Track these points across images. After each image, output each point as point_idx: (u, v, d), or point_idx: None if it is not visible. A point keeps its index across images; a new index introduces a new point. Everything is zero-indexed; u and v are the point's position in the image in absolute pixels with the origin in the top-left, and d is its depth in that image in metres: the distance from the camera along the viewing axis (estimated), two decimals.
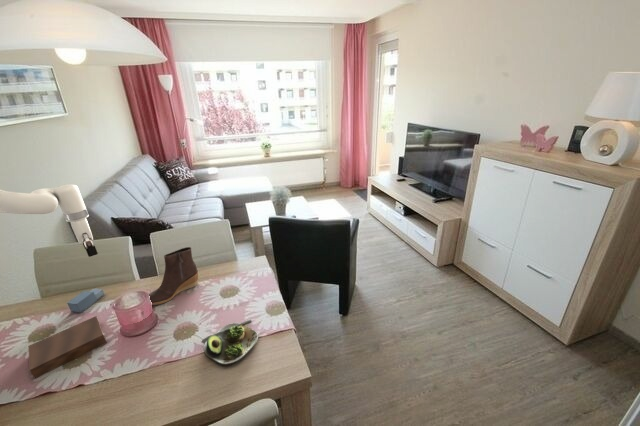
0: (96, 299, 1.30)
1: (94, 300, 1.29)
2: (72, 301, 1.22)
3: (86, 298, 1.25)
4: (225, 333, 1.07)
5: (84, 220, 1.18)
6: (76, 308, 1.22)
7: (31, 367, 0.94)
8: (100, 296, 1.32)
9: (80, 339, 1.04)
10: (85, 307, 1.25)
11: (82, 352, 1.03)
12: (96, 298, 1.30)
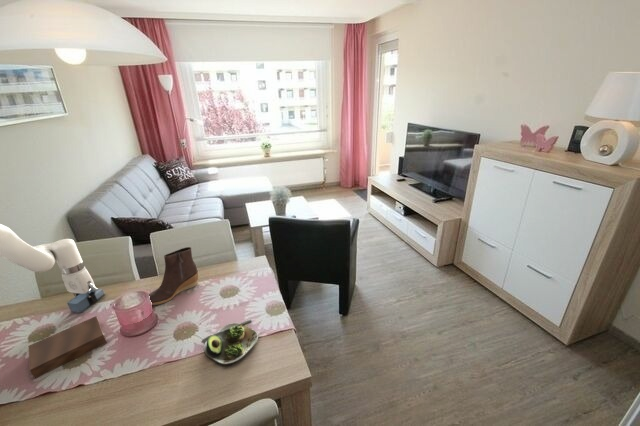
0: None
1: None
2: (72, 301, 1.22)
3: (86, 298, 1.25)
4: (225, 333, 1.07)
5: None
6: (76, 308, 1.22)
7: (31, 367, 0.94)
8: (100, 296, 1.32)
9: (80, 339, 1.04)
10: (85, 307, 1.25)
11: (82, 352, 1.03)
12: None
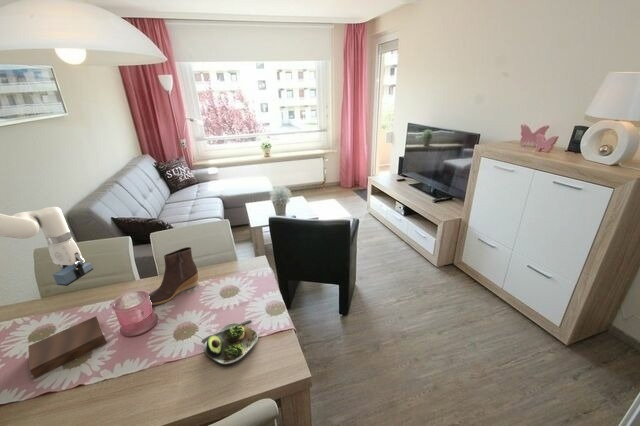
0: None
1: None
2: (58, 273, 1.17)
3: (73, 271, 1.20)
4: (225, 333, 1.07)
5: (73, 240, 1.17)
6: (62, 280, 1.17)
7: (31, 367, 0.94)
8: (88, 270, 1.26)
9: (80, 339, 1.04)
10: (72, 280, 1.19)
11: (82, 352, 1.03)
12: None
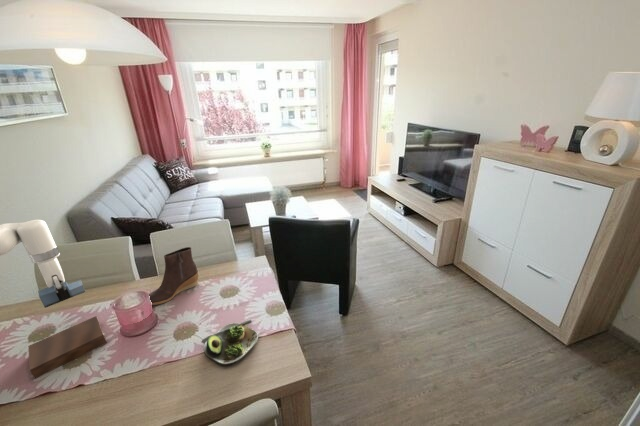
0: (71, 295, 1.09)
1: None
2: (41, 291, 1.05)
3: (55, 292, 1.06)
4: (225, 333, 1.07)
5: (53, 260, 1.02)
6: None
7: (31, 367, 0.94)
8: (78, 292, 1.11)
9: (80, 339, 1.04)
10: (52, 302, 1.06)
11: (82, 352, 1.03)
12: (71, 294, 1.09)
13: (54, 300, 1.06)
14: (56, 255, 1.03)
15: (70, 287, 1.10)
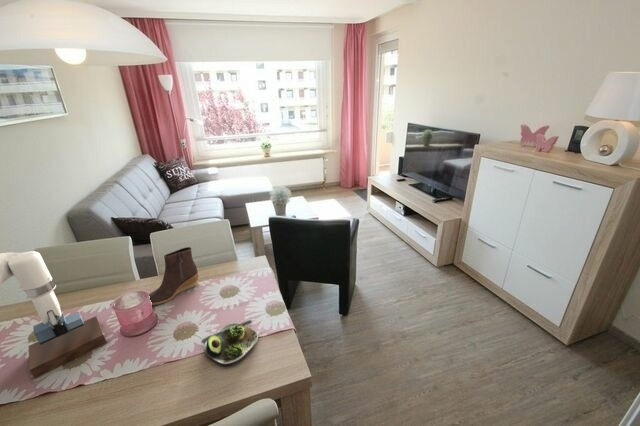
0: (68, 329, 1.02)
1: None
2: (37, 327, 0.98)
3: (51, 327, 0.98)
4: (225, 333, 1.07)
5: (49, 295, 0.94)
6: (37, 337, 0.97)
7: (31, 367, 0.94)
8: (76, 326, 1.03)
9: (80, 339, 1.04)
10: (48, 338, 0.98)
11: (82, 352, 1.03)
12: (69, 328, 1.02)
13: (50, 336, 0.99)
14: (52, 289, 0.96)
15: (68, 321, 1.02)
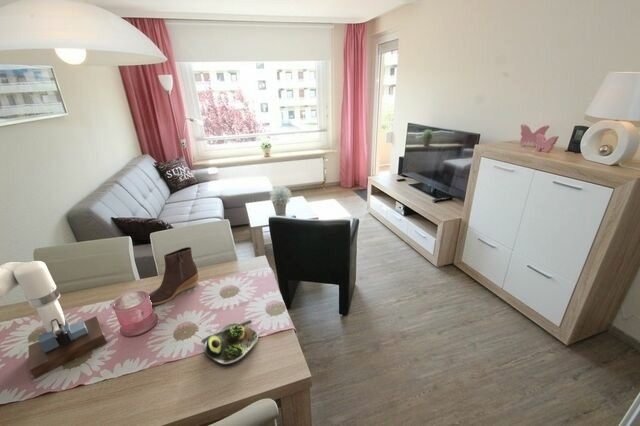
0: (73, 339, 1.03)
1: None
2: (42, 336, 1.00)
3: None
4: (225, 333, 1.07)
5: (53, 304, 0.96)
6: (42, 347, 0.98)
7: (31, 367, 0.94)
8: (80, 335, 1.05)
9: (80, 339, 1.04)
10: (53, 347, 1.00)
11: (82, 352, 1.03)
12: (73, 337, 1.03)
13: (55, 345, 1.00)
14: (56, 298, 0.97)
15: (72, 330, 1.04)
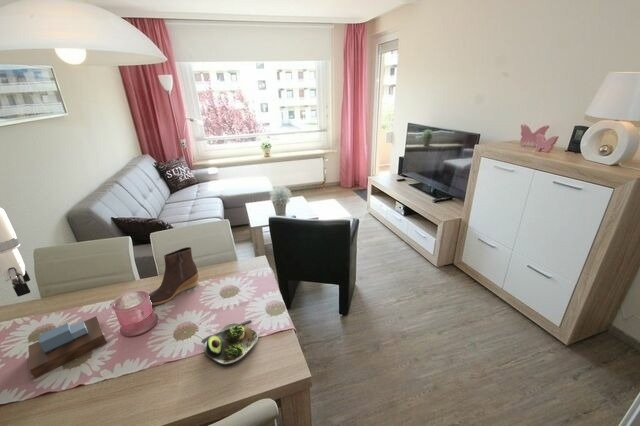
0: (73, 339, 1.03)
1: (69, 340, 1.03)
2: (42, 336, 1.00)
3: (56, 337, 1.00)
4: (225, 333, 1.07)
5: (11, 252, 0.94)
6: (42, 347, 0.98)
7: (31, 367, 0.94)
8: (80, 335, 1.05)
9: (80, 339, 1.04)
10: (53, 347, 1.00)
11: (82, 352, 1.03)
12: (73, 337, 1.03)
13: (55, 345, 1.00)
14: (15, 246, 0.95)
15: (72, 330, 1.04)
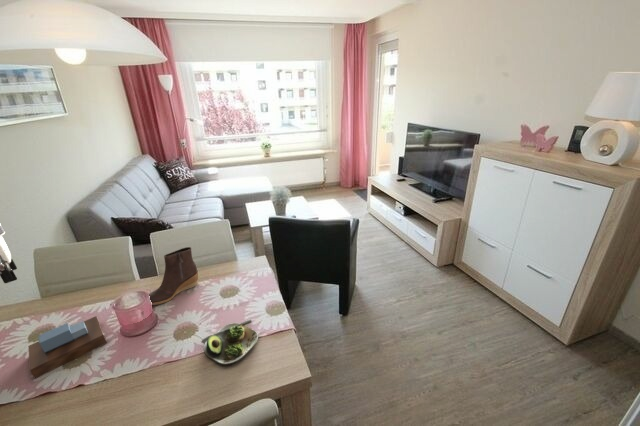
0: (73, 339, 1.03)
1: (69, 340, 1.03)
2: (42, 336, 1.00)
3: (56, 337, 1.00)
4: (225, 333, 1.07)
5: None
6: (42, 347, 0.98)
7: (31, 367, 0.94)
8: (80, 335, 1.05)
9: (80, 339, 1.04)
10: (53, 347, 1.00)
11: (82, 352, 1.03)
12: (73, 337, 1.03)
13: (55, 345, 1.00)
14: (0, 234, 0.98)
15: (72, 330, 1.04)
